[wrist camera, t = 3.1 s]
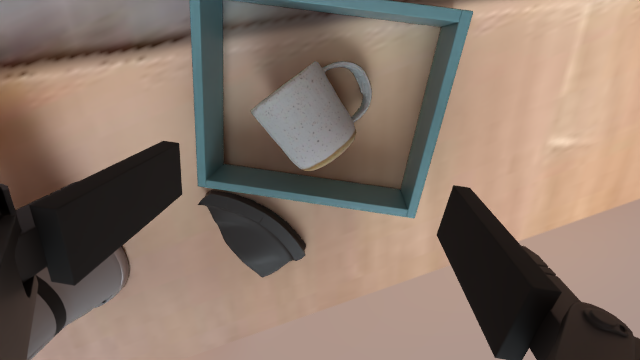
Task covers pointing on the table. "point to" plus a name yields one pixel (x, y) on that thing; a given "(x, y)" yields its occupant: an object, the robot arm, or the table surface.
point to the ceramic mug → (312, 116)
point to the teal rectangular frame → (398, 202)
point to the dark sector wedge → (254, 232)
